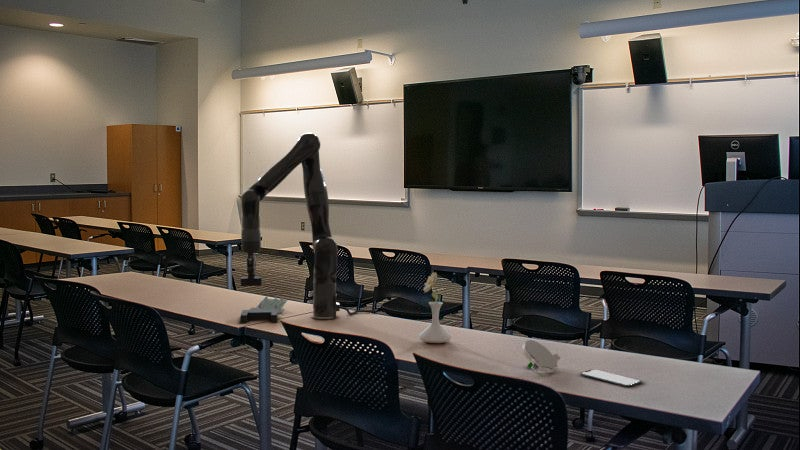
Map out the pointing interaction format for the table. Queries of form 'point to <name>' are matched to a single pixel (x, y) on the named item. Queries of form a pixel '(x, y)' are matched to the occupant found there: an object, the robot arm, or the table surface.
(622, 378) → the smartphone
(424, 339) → the flower in vase
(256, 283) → the small black pad
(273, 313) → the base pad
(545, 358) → the tabbed white plastic disc
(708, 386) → the table surface
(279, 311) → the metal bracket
